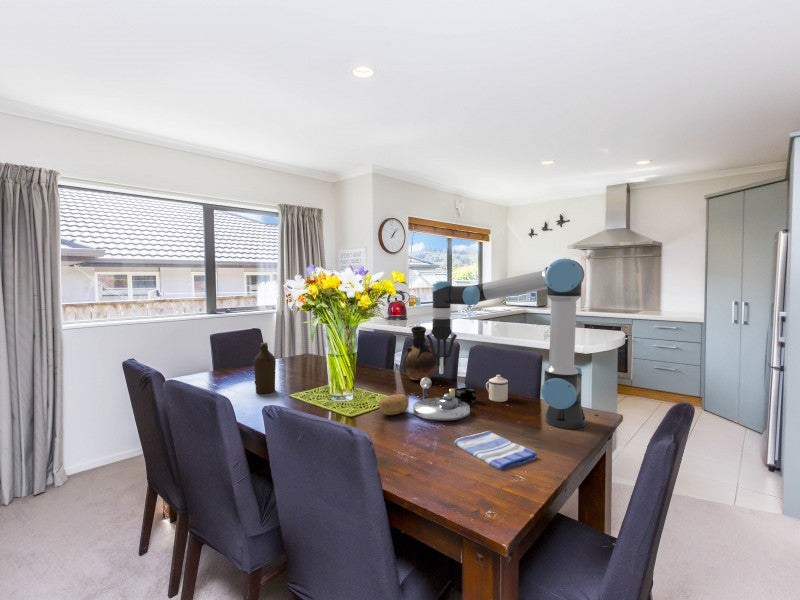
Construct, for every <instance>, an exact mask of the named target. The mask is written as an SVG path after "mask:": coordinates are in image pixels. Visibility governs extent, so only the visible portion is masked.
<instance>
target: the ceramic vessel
mask: <svg viewBox="0 0 800 600" xmlns="http://www.w3.org/2000/svg"><path fill="white" fill-rule="evenodd" d="M410 330H411V333H412V337H413V340H412V344H413V345H412V346H408V347H407V348H406V352H405V353H404V355H403V357H402V361H401V364H402V365H401V366H402V369H403V371H404V373H405V375H406V376H407V377H408V378H409V379H411V380H413V381H421V379H422V378H424V377H427V378H429V379H431V377H432V376H433V374H435V372H436V370H437V368H438V366H437V358H436V357H433V355H432V350H431V346H430V343H428V344H426V341H427V339H426V337H425V336H426V331H427V328H426V327H425V326H421V325H419V326H417V325H416V326H413V327H412V328H411V329H410ZM435 354H437V352H435Z"/></svg>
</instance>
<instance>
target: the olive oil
mask: <svg viewBox="0 0 800 600" xmlns="http://www.w3.org/2000/svg"><path fill="white" fill-rule="evenodd" d="M268 344H269V343H268V342H261V343H260V351H259V353H258V354H256V355H255V357H254V359H253V371H254V385H255V393H256V394H259V395H265V394H267V395H268V394H271V393H275V392H276V365H277V364H276V362H277V361H276V357H275V356H274V355H273V353H272V352H270V350H269V347H268V346H269V345H268Z"/></svg>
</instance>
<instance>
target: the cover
mask: <svg viewBox="0 0 800 600" xmlns="http://www.w3.org/2000/svg"><path fill="white" fill-rule="evenodd" d="M438 398H439V407H440V408H442V409H456V408H457V407H458V399H457V398H454V397H453V394H450V392H449V393H447V392H446V393H444V394H443V396H442V397H438Z"/></svg>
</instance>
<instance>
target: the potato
mask: <svg viewBox="0 0 800 600" xmlns="http://www.w3.org/2000/svg"><path fill="white" fill-rule="evenodd" d="M377 406H378V408H379V410H380V411H381V412H382V413H384V414H385V415H387V416H395V415H398V414H401V413H403V412H405V411H406V410H407V409H408V408H409V407H408V406H409V398H408V397H407V395H405V394H404V393H399V394H390V395H388V396H385V397H383V398H381V399H380V400H379V401H378V405H377Z"/></svg>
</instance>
